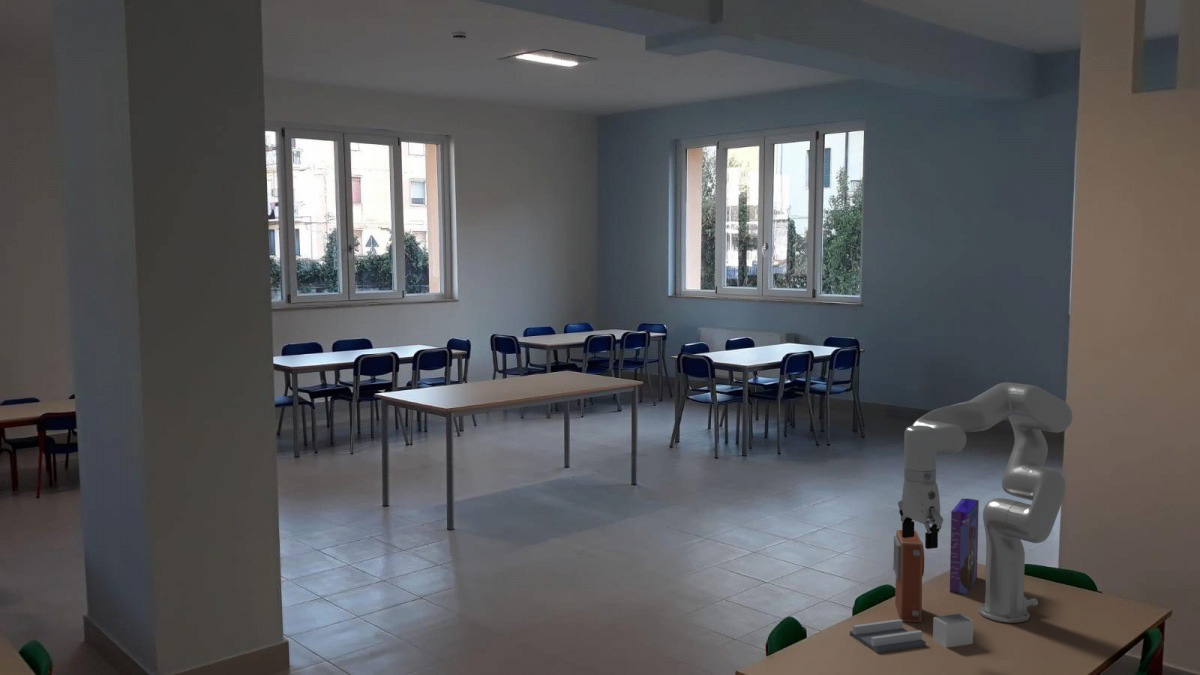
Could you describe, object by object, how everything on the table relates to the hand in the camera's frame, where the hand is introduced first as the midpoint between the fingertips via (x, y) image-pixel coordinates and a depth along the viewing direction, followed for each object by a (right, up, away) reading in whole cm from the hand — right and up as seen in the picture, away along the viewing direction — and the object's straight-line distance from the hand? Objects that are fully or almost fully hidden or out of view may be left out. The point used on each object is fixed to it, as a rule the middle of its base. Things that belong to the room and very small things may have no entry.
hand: (919, 542), depth 234 cm
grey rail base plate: (-8, -25, +1) cm, 26 cm away
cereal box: (+28, -22, +42) cm, 55 cm away
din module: (+8, -25, 0) cm, 26 cm away
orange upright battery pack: (+3, -24, +19) cm, 31 cm away
